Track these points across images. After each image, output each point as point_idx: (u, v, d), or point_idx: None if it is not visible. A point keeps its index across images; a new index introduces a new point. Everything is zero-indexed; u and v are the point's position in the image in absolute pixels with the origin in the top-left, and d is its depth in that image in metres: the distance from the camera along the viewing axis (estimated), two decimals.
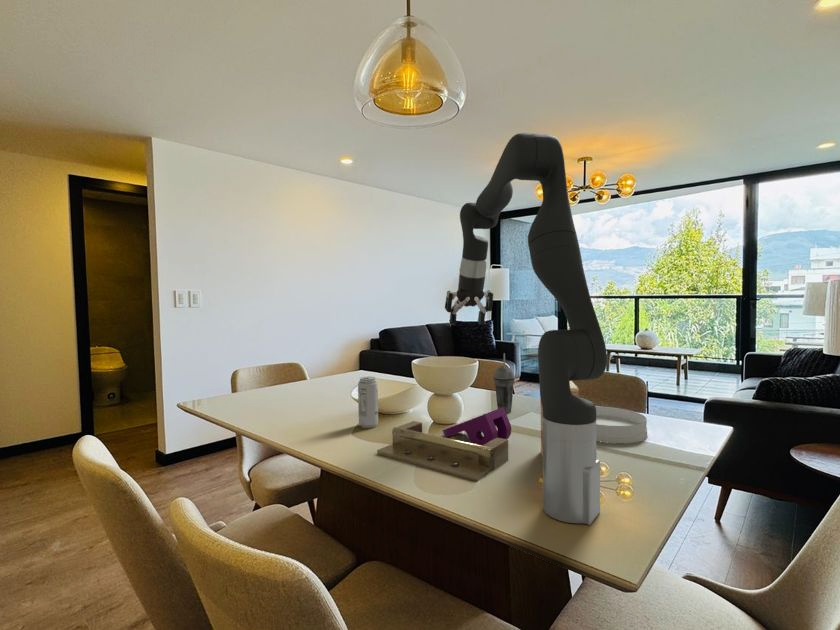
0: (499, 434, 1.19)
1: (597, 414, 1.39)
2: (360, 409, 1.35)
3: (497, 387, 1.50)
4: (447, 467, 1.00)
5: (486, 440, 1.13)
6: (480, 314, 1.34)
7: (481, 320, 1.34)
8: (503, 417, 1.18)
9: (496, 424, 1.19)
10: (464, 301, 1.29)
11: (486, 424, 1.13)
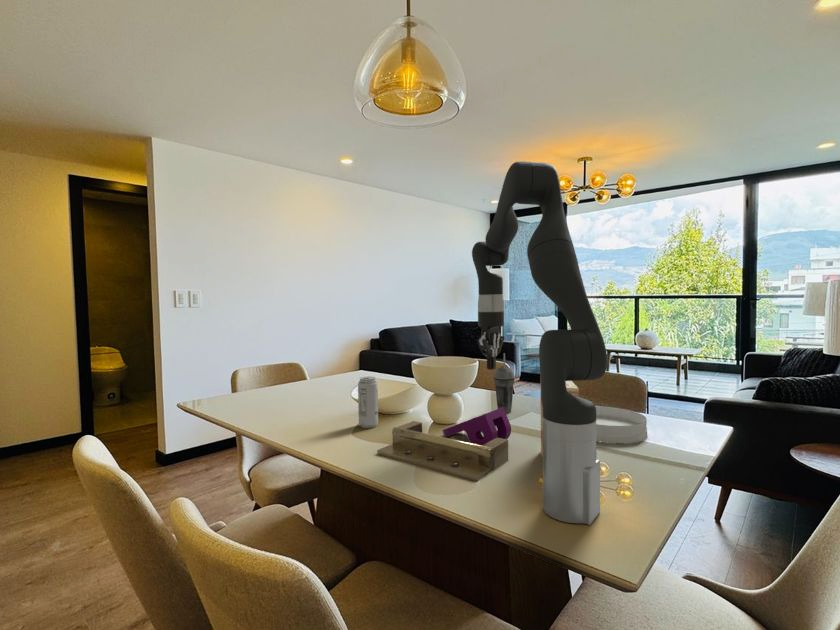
0: (499, 434, 1.19)
1: (597, 414, 1.39)
2: (360, 409, 1.35)
3: (497, 387, 1.50)
4: (447, 467, 1.00)
5: (485, 440, 1.13)
6: None
7: (495, 364, 1.29)
8: (503, 417, 1.18)
9: (496, 424, 1.19)
10: (494, 339, 1.27)
11: (485, 424, 1.13)
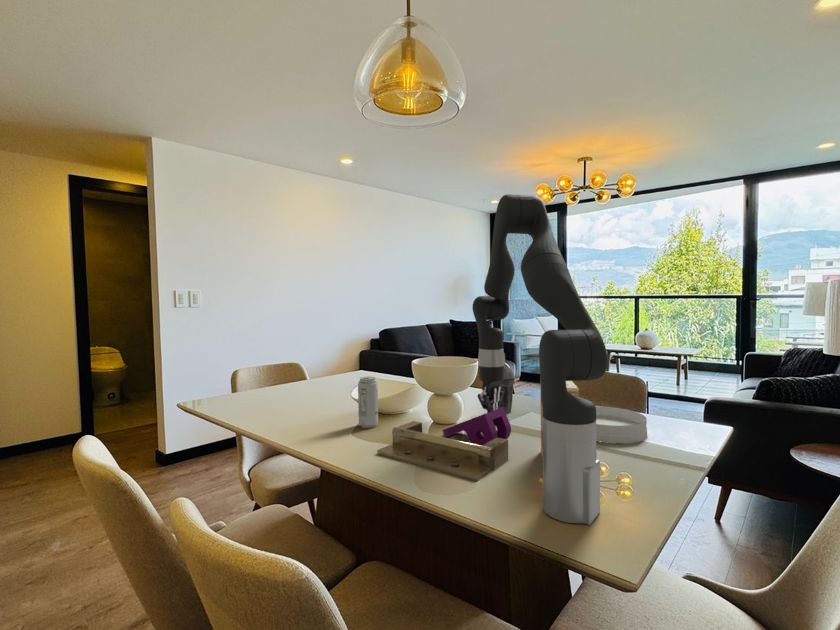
0: (499, 434, 1.19)
1: (597, 414, 1.39)
2: (360, 409, 1.35)
3: None
4: (447, 467, 1.00)
5: (485, 440, 1.13)
6: None
7: None
8: (503, 417, 1.18)
9: (496, 424, 1.19)
10: (494, 394, 1.28)
11: (485, 424, 1.13)
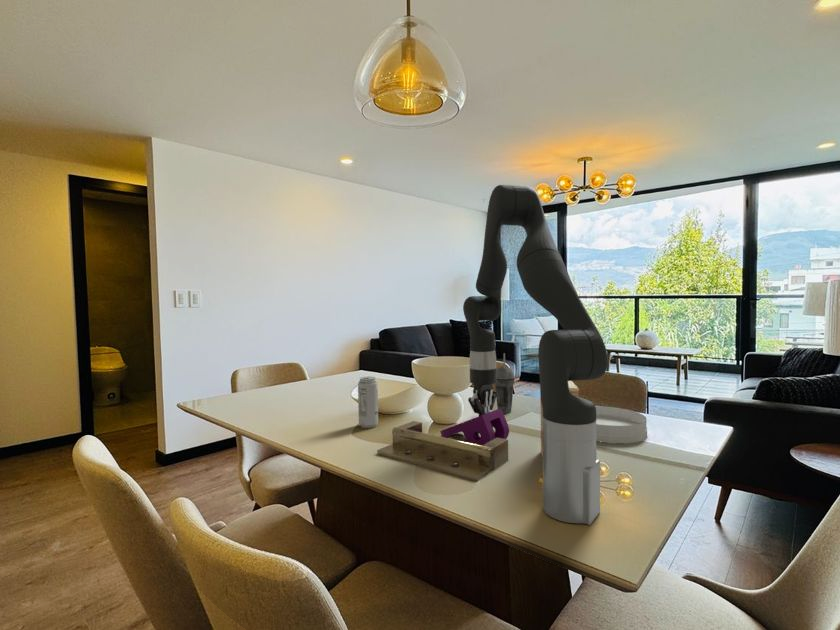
0: (496, 435, 1.18)
1: (597, 414, 1.39)
2: (360, 409, 1.35)
3: (497, 387, 1.50)
4: (447, 467, 1.00)
5: (483, 441, 1.13)
6: None
7: None
8: (501, 418, 1.18)
9: (494, 425, 1.19)
10: (486, 397, 1.23)
11: (483, 425, 1.13)
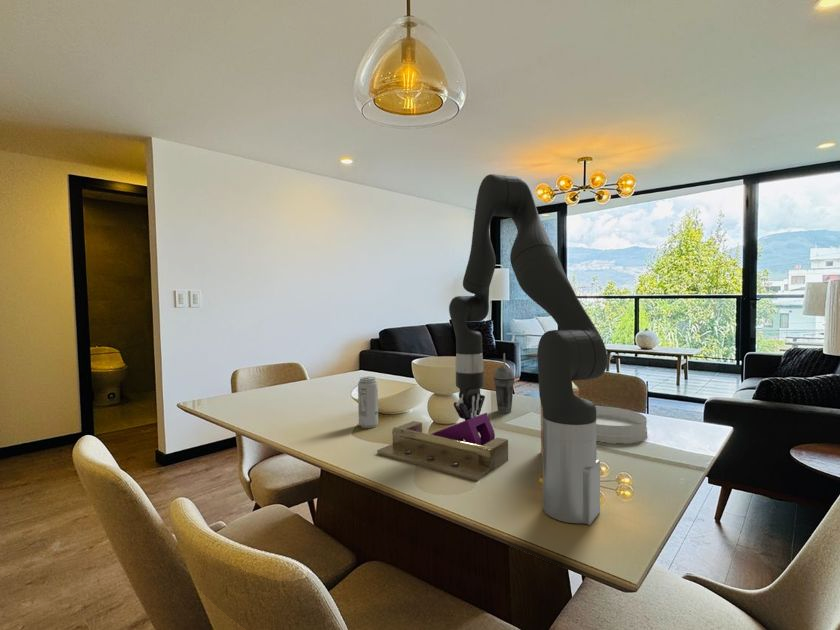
0: (482, 441, 1.13)
1: (597, 414, 1.39)
2: (360, 409, 1.35)
3: (497, 387, 1.50)
4: (447, 467, 1.00)
5: None
6: None
7: None
8: (486, 423, 1.13)
9: (479, 431, 1.14)
10: (472, 402, 1.18)
11: (468, 432, 1.07)
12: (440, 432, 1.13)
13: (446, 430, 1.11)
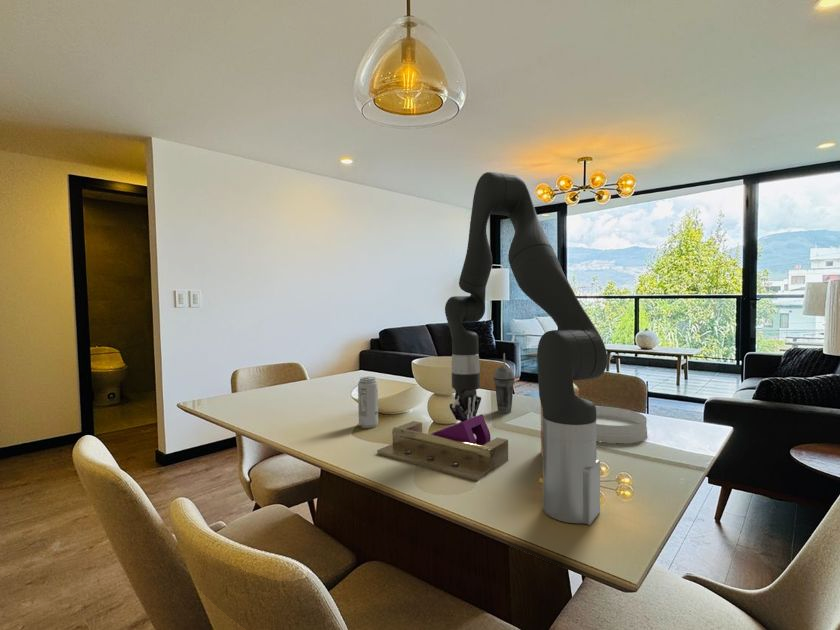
0: (478, 443, 1.12)
1: (597, 414, 1.39)
2: (360, 409, 1.35)
3: (497, 387, 1.50)
4: (447, 467, 1.00)
5: None
6: None
7: None
8: (482, 425, 1.11)
9: (474, 432, 1.12)
10: (469, 404, 1.16)
11: (464, 433, 1.06)
12: (435, 434, 1.11)
13: (441, 432, 1.10)
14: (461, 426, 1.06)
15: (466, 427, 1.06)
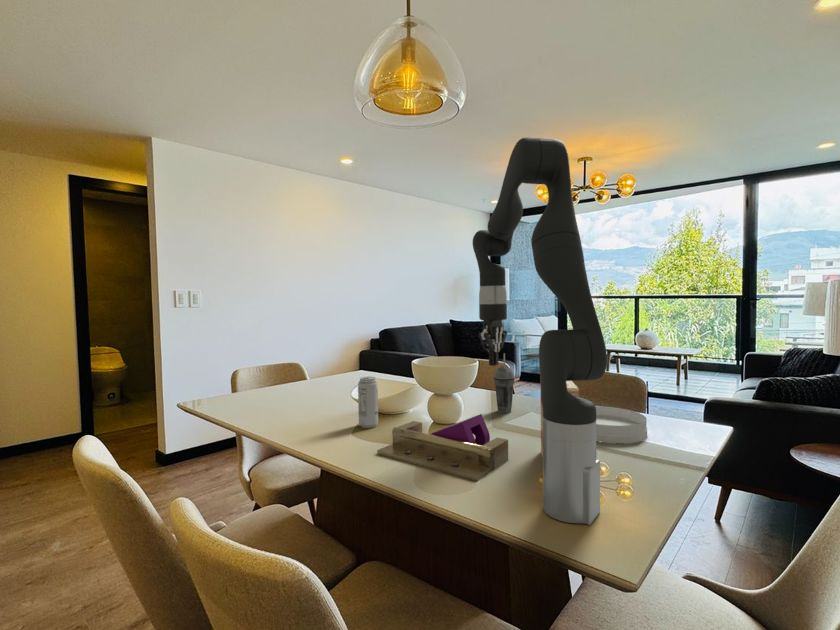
0: (477, 443, 1.12)
1: (597, 414, 1.39)
2: (360, 409, 1.35)
3: (497, 387, 1.50)
4: (447, 467, 1.00)
5: None
6: None
7: (497, 360, 1.22)
8: (481, 425, 1.11)
9: (474, 432, 1.12)
10: (496, 334, 1.20)
11: (463, 433, 1.06)
12: (434, 434, 1.11)
13: (440, 432, 1.10)
14: (460, 426, 1.06)
15: (465, 427, 1.06)
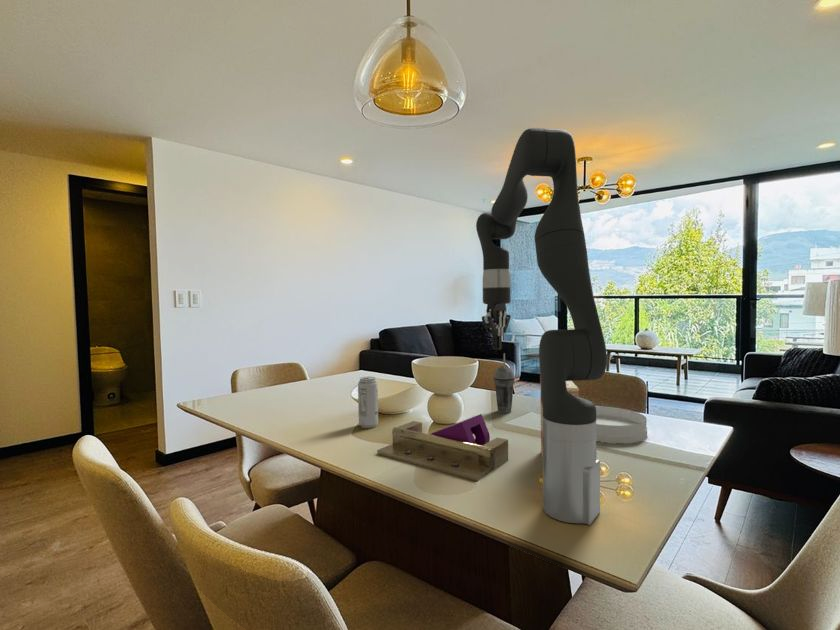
0: (477, 443, 1.12)
1: (597, 414, 1.39)
2: (360, 409, 1.35)
3: (497, 387, 1.50)
4: (447, 467, 1.00)
5: None
6: None
7: (500, 344, 1.21)
8: (481, 425, 1.11)
9: (474, 432, 1.12)
10: (500, 317, 1.19)
11: (463, 433, 1.06)
12: (434, 434, 1.11)
13: (440, 432, 1.10)
14: (460, 426, 1.06)
15: (465, 427, 1.06)
